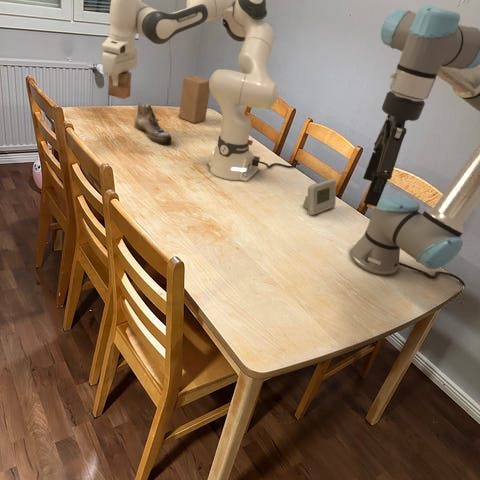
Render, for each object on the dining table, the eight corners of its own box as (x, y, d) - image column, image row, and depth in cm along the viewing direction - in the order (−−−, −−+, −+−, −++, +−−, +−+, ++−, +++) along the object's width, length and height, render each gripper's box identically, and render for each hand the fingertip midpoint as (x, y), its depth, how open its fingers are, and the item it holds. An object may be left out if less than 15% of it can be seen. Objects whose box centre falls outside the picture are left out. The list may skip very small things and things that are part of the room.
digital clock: (309, 217, 160) (317, 191, 154) (294, 205, 166) (301, 179, 160) (340, 211, 169) (349, 186, 163) (324, 200, 175) (332, 175, 169)
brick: (114, 92, 166) (115, 68, 162) (130, 96, 166) (131, 72, 161) (108, 94, 162) (109, 70, 158) (124, 99, 162) (125, 74, 157)
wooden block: (194, 123, 220) (199, 83, 210) (178, 117, 224) (183, 77, 213) (205, 120, 228) (211, 81, 218) (190, 114, 232) (195, 75, 221)
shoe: (175, 145, 192) (178, 118, 185) (151, 146, 186) (153, 118, 180) (154, 124, 209) (157, 98, 202) (132, 124, 203) (133, 97, 197)
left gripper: (126, 38, 163) (124, 77, 171) (99, 45, 146) (98, 87, 154) (142, 42, 163) (139, 81, 170) (116, 49, 146) (115, 91, 153)
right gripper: (385, 79, 97) (353, 167, 108) (392, 105, 76) (352, 210, 87) (418, 87, 96) (383, 175, 108) (435, 116, 75) (389, 221, 87)
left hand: (119, 84), depth 162 cm, fingers closed on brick, 5 cm apart
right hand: (369, 191), depth 98 cm, fingers open, 13 cm apart
